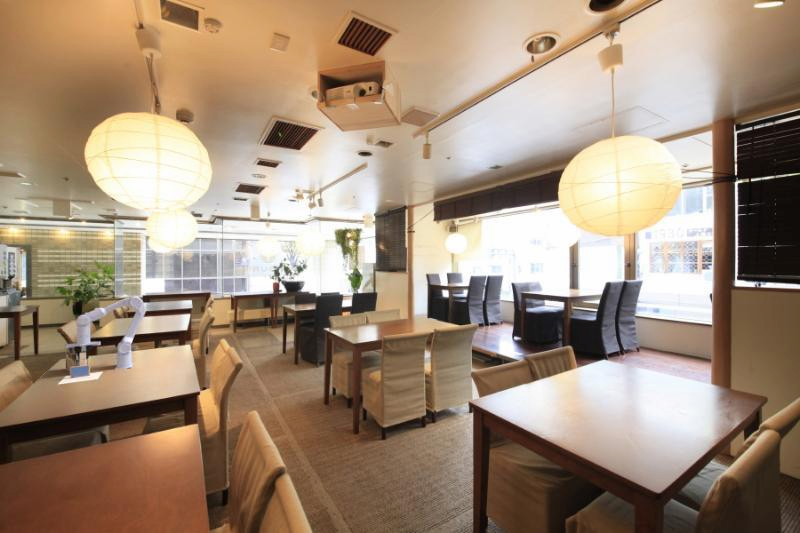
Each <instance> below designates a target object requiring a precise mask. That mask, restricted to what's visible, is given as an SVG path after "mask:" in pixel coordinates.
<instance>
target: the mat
mask: <svg viewBox="0 0 800 533" xmlns="http://www.w3.org/2000/svg"><path fill="white" fill-rule="evenodd" d="M102 374H103V371H97V372H90V376H84V377H76V378H70V375H65V376H64V377H63V378H62V379H61V381H59V382H58V384H57V385H63V384H64V385H65V384H70V383H71V384H72V383H79V382H80V383H81V382H87V381H95V380H98V379H99V378H100V376H102Z"/></svg>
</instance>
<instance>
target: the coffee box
mask: <svg viewBox="0 0 800 533" xmlns="http://www.w3.org/2000/svg"><path fill="white" fill-rule="evenodd" d="M74 343H77V341H75V342H74V341H73V342H70V343H66V344H65V347H64V348H65V371H69V372H70V367H74V366H80V360H79V358H78V355H77V353H76V352H75V351H74V347H73V348H66V345H67V344H74ZM86 347H87V346H84V347H82V349H81V352H82V351H86ZM87 365H89V363H88V364H87Z"/></svg>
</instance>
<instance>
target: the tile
mask: <svg viewBox="0 0 800 533" xmlns="http://www.w3.org/2000/svg"><path fill="white" fill-rule="evenodd" d="M90 373H91V364H88V365H82V366H74V367H70V371H69V376H70V378H76V377H84V376H90Z"/></svg>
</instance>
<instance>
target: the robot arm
mask: <svg viewBox="0 0 800 533" xmlns="http://www.w3.org/2000/svg"><path fill="white" fill-rule="evenodd" d="M121 307H131V308H133V309H134V311H135V313H134V315H133V317H132V320H131V322H130V324H129V326H128V328H127V330H126V331H125V334H124V336H123V338H122V339H121V341H119V343H118V344H117V346H116V347H117V352H116V367H115V368H114V370H120V369H130V368H133V366H134V362H133V360H132V359H133V356H132V353H133V351H132V343H133V340H134V338H135V335H136V333H137V331H138V329H139V328H140V325H141V323H142V321H143V319H144V316H145V314H146V312H147V311H146V307H145V303H144V301H143V299H141V297H140V296H139V295H131V296H129V297H125V298H123V299H121V300H118V301H117V302H115V303H112V304H110V305H107V306H106V307H95V308H94V310H90V311H89V312H85V313H84V314H80V315H79V316H78V317H77V318H76V324H77V325H76V342H77V343H74V344H69V343H66V344H67V345H66V348H73V347H74V351H75V352H76V353H77V355H78V358H79V360H80V352H81V349H82V347H84V346H87V347H86V359H88V360H89V358H90V357H89V356H90V353H91V352H92V349H93V347H94V346H101V345H102V344H101V342H102V341H91V327H90V326H91V324H90V323H91V322H95V321H98V320H99V319H102V318H103V317H105V316H107V313H111V312H112V311H114V310H117V309H119V308H121ZM66 348H65V349H66Z"/></svg>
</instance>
